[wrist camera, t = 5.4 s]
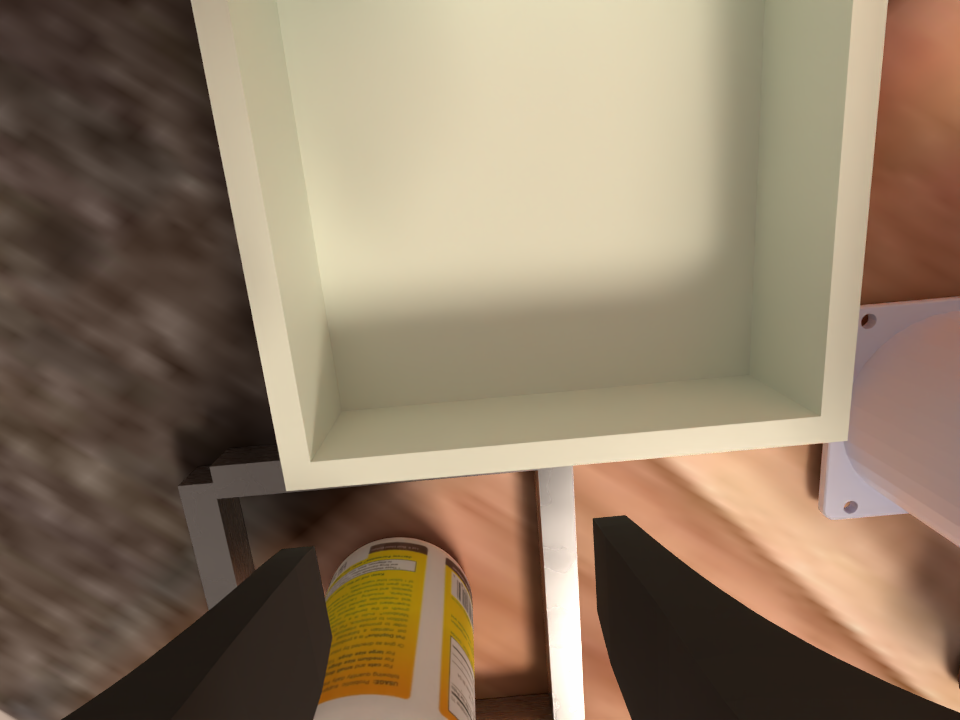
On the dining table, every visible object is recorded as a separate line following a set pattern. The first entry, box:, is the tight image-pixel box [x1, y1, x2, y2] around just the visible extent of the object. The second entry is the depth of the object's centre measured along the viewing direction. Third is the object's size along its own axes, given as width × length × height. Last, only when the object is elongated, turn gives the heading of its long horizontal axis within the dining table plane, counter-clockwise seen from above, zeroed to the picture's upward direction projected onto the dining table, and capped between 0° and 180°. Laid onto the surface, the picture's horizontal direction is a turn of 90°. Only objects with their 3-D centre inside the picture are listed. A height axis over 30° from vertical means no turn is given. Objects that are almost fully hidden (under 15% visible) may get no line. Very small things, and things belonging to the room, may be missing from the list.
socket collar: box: [178, 444, 585, 720], centre depth 21 cm, size 13×13×2 cm
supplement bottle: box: [313, 537, 476, 720], centre depth 17 cm, size 6×6×10 cm
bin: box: [191, 0, 888, 491], centre depth 16 cm, size 16×16×5 cm
